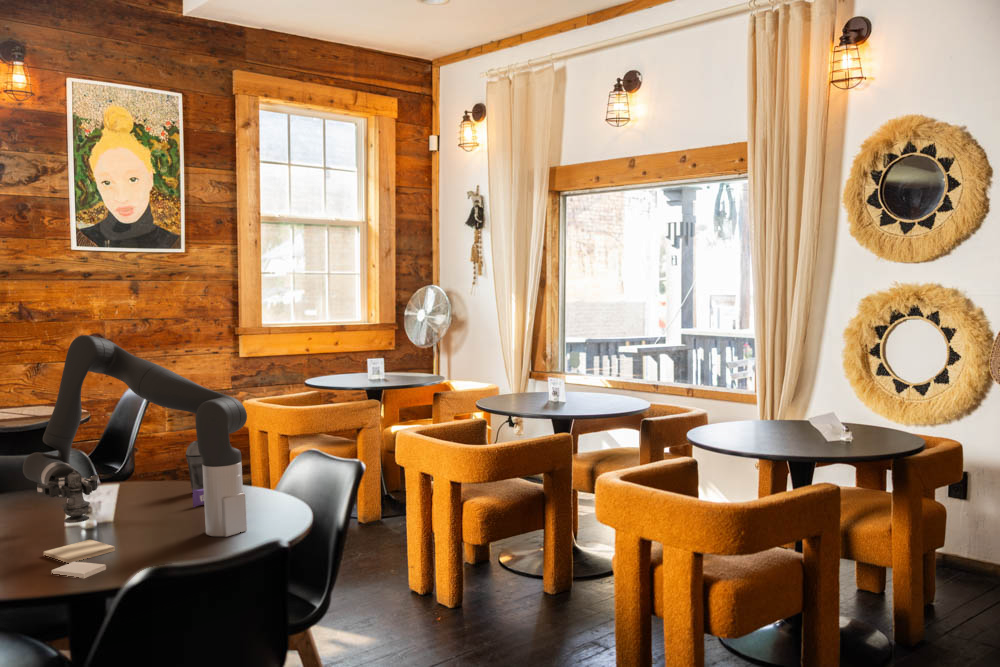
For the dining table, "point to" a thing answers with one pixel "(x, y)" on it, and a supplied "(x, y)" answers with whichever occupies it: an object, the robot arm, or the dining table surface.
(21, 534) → the dining table surface
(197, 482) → the beverage cup
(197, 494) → the snack package
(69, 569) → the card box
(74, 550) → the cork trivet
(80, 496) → the salt shaker
